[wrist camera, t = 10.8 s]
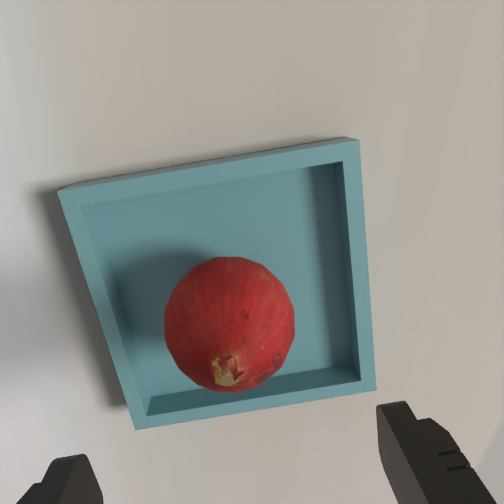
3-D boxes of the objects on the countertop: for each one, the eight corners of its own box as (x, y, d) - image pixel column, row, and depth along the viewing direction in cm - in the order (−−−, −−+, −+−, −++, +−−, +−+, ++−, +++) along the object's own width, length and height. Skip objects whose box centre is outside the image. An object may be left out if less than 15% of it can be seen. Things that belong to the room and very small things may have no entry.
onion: (306, 287, 22) (346, 382, 14) (231, 352, 23) (231, 472, 15) (229, 213, 20) (229, 275, 13) (153, 287, 21) (111, 385, 14)
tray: (75, 183, 20) (56, 191, 18) (345, 136, 20) (359, 139, 18) (143, 403, 24) (135, 430, 22) (364, 366, 24) (376, 390, 22)
